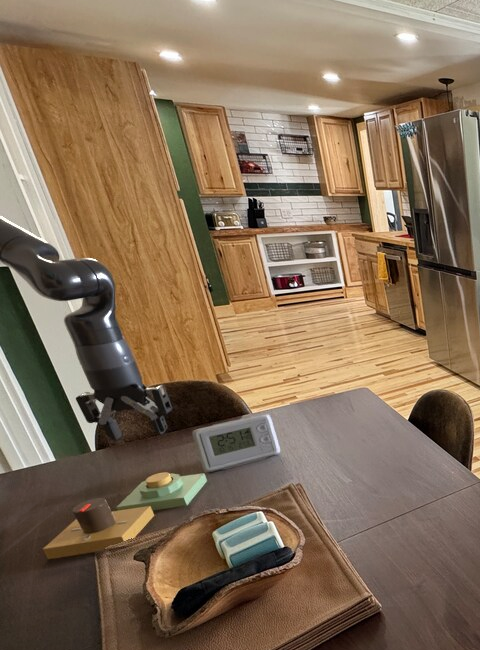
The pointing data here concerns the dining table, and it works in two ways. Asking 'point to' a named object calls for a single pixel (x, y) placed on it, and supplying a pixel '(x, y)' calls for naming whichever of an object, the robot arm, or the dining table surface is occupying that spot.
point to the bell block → (165, 493)
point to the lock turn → (94, 515)
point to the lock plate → (99, 534)
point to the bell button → (158, 480)
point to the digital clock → (236, 442)
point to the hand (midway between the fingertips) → (139, 435)
